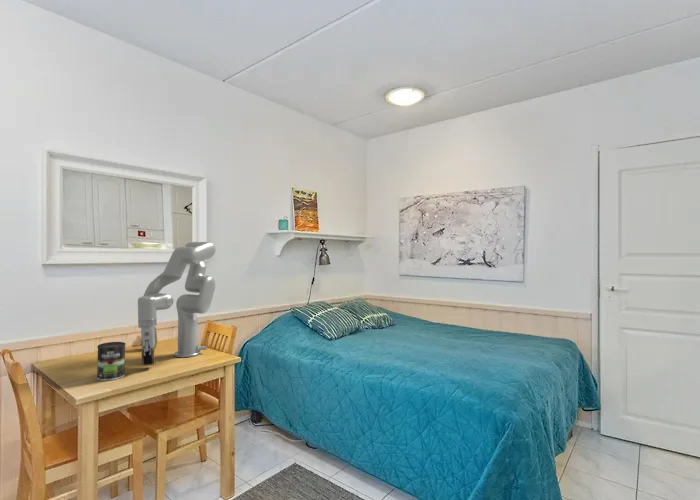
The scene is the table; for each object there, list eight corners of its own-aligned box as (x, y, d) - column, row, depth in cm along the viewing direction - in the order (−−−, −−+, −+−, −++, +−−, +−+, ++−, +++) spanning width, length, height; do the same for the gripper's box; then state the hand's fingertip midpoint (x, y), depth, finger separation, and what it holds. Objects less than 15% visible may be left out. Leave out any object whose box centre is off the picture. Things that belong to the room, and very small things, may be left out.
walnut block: (154, 361, 181) (154, 346, 181) (154, 364, 176) (153, 349, 176) (142, 362, 179) (142, 347, 179) (141, 366, 174) (141, 350, 174)
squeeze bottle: (144, 347, 214) (145, 315, 214) (159, 347, 215) (160, 315, 215) (138, 351, 206) (138, 318, 206) (153, 351, 207) (154, 318, 207)
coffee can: (124, 378, 163) (124, 345, 163) (95, 382, 159) (95, 348, 159) (125, 371, 173) (126, 340, 173) (98, 375, 168) (98, 342, 168)
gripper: (155, 326, 171) (156, 366, 171) (157, 318, 186) (158, 355, 187) (136, 327, 167) (137, 368, 168) (139, 319, 183) (140, 357, 184)
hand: (148, 361), depth 178 cm, fingers closed on walnut block, 5 cm apart
